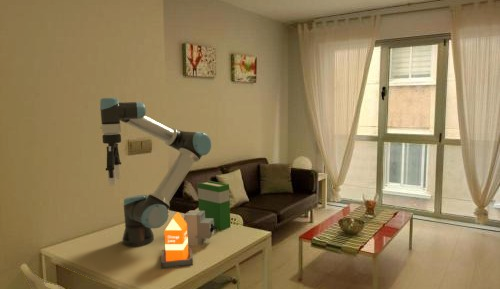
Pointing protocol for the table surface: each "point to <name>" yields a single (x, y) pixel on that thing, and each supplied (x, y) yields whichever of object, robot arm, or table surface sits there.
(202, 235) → the circuit breaker
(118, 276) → the table surface
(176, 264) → the tray
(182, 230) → the juice carton
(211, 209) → the green box
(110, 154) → the robot arm
